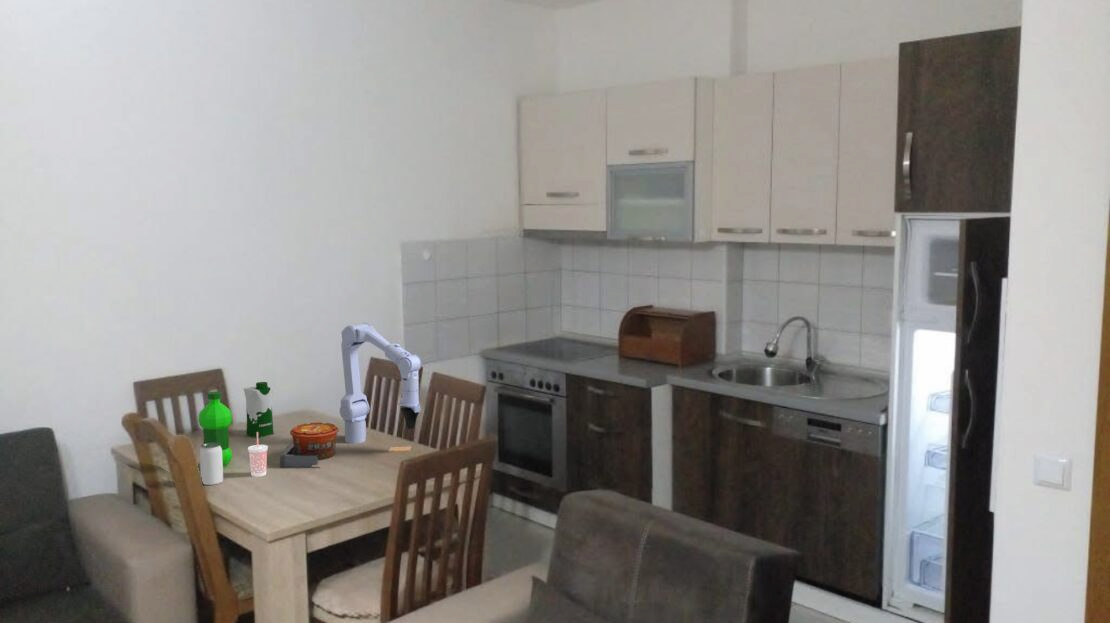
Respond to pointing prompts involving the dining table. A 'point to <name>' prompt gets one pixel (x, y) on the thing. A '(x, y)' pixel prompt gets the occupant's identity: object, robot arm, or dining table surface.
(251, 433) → the milk carton
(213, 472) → the can
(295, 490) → the dining table surface
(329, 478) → the dining table surface
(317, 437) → the food container
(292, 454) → the tray
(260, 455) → the beverage cup
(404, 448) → the latch flap
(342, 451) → the dining table surface
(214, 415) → the plastic bottle
